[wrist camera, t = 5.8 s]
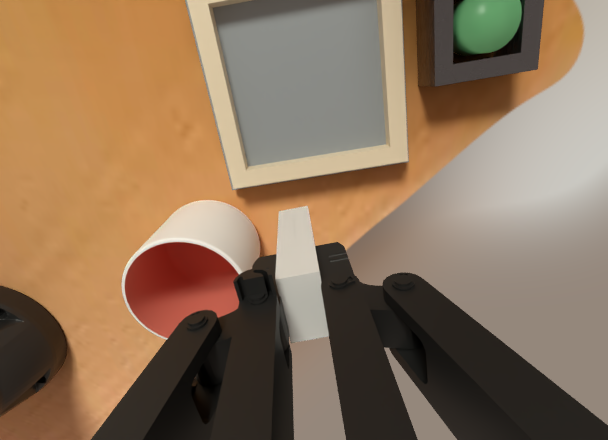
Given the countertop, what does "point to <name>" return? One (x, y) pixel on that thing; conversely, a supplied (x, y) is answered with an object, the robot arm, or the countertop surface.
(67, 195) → the countertop surface
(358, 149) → the tray
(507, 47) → the dark grey square box
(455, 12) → the button
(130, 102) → the countertop surface
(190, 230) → the cup
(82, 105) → the countertop surface
